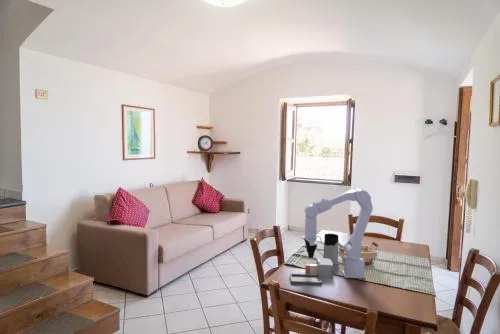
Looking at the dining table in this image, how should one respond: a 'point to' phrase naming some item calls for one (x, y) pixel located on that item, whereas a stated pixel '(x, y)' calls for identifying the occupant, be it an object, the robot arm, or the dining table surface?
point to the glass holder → (330, 247)
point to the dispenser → (325, 267)
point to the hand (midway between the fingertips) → (309, 254)
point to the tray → (305, 279)
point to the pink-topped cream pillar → (311, 269)
